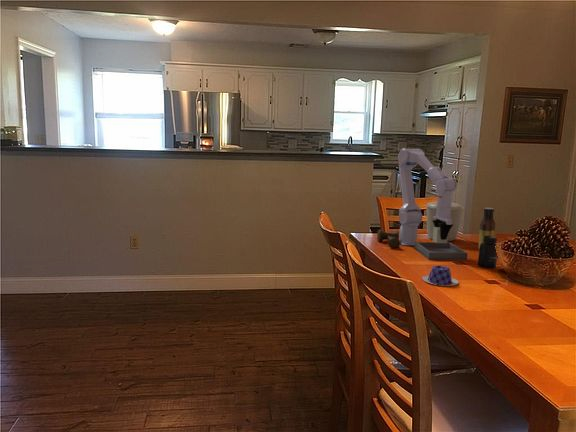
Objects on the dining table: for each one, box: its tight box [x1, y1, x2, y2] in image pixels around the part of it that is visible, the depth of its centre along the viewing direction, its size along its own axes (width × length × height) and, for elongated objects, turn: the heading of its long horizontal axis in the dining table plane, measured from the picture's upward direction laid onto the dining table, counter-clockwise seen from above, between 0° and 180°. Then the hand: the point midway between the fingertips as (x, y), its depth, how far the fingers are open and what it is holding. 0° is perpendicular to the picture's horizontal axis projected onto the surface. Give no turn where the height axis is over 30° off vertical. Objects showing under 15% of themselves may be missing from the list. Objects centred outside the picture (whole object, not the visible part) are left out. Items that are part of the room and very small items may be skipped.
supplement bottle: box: [477, 236, 499, 270], centre depth 177 cm, size 7×7×12 cm
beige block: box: [432, 227, 448, 243], centre depth 193 cm, size 4×4×6 cm
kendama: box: [376, 229, 401, 249], centre depth 212 cm, size 6×10×20 cm
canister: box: [424, 201, 465, 242], centre depth 222 cm, size 18×18×21 cm
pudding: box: [422, 265, 459, 287], centre depth 158 cm, size 12×12×5 cm
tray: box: [414, 241, 468, 261], centre depth 195 cm, size 18×16×3 cm
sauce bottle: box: [477, 207, 496, 249], centre depth 198 cm, size 6×6×20 cm
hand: (441, 238), depth 194 cm, fingers closed on beige block, 4 cm apart
